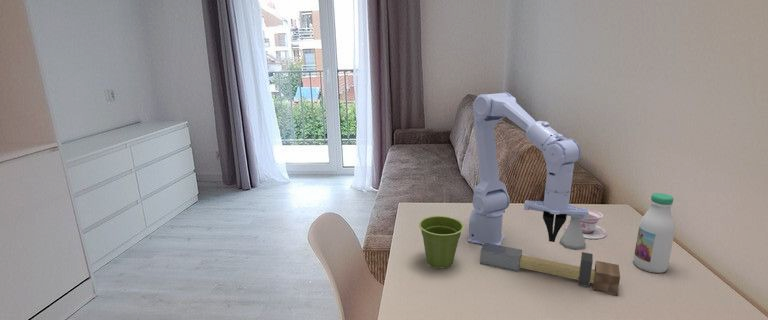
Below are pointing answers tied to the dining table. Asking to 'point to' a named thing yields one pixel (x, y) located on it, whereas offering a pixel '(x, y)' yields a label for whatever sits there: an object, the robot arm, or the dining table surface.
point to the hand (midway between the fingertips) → (551, 240)
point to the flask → (573, 235)
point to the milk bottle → (655, 235)
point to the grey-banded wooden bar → (563, 268)
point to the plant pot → (440, 239)
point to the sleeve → (500, 257)
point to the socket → (606, 278)
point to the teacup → (592, 225)
